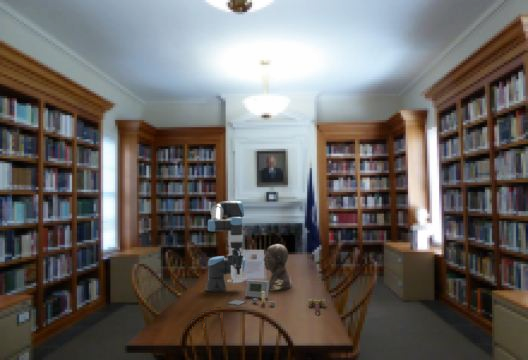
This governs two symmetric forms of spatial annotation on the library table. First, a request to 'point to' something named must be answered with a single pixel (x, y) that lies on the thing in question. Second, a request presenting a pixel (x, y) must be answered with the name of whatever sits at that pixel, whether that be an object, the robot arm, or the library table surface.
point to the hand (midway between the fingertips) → (236, 278)
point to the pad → (236, 302)
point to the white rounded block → (233, 275)
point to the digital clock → (257, 288)
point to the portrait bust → (277, 267)
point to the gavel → (317, 304)
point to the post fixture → (263, 299)
